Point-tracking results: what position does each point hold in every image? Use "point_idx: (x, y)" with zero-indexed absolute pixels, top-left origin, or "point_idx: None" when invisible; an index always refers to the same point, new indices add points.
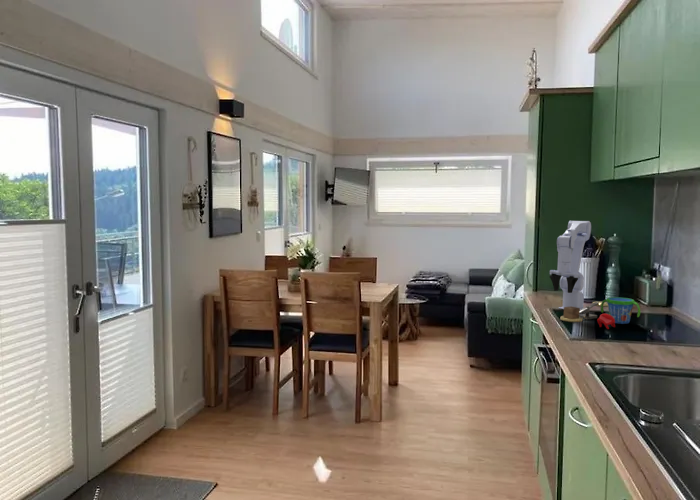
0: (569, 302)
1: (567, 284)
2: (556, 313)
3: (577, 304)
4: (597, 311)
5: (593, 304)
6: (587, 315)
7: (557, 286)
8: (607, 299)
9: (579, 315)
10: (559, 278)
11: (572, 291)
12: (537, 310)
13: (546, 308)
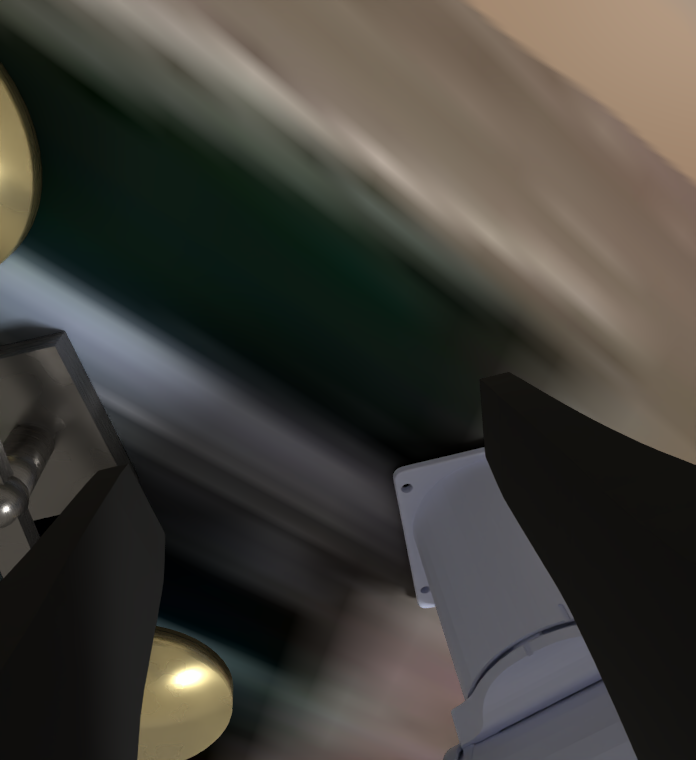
0: (467, 529)
1: (619, 740)
2: (348, 240)
3: (427, 578)
4: (322, 643)
5: None
6: (4, 432)
7: (523, 497)
8: None
9: (23, 352)
10: (642, 742)
11: (494, 670)
12: (601, 113)
13: (630, 314)
